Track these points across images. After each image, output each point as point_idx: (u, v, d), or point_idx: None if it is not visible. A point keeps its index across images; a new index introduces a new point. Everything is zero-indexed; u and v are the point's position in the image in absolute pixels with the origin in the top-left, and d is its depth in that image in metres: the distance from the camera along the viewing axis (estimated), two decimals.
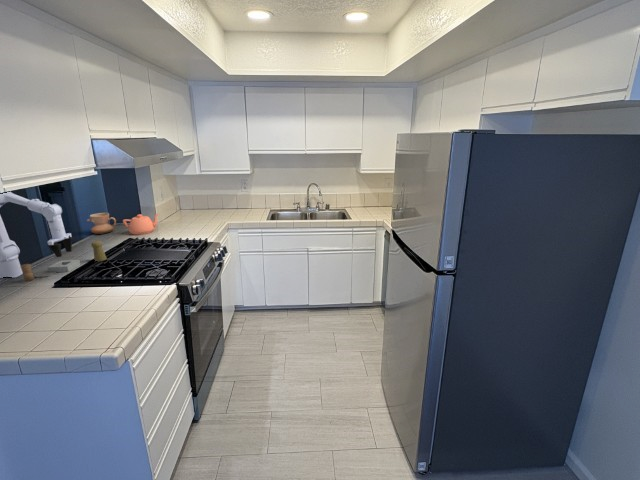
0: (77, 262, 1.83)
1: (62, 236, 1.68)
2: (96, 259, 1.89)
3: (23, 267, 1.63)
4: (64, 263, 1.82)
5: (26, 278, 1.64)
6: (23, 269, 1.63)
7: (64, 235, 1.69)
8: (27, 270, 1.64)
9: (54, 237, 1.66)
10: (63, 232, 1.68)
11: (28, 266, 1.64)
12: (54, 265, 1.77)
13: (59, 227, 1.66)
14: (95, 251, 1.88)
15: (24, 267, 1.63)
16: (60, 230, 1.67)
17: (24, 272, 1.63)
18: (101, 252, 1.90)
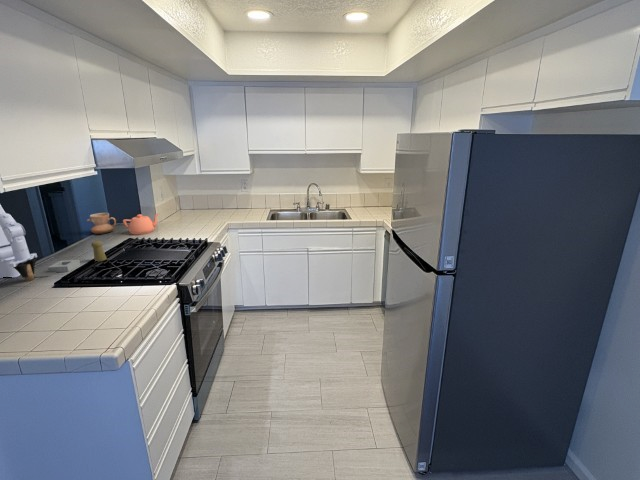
0: (77, 262, 1.83)
1: (25, 257, 1.62)
2: (96, 259, 1.89)
3: None
4: (64, 263, 1.82)
5: (26, 278, 1.64)
6: None
7: (28, 256, 1.63)
8: (27, 270, 1.64)
9: (17, 259, 1.60)
10: (27, 253, 1.62)
11: (28, 266, 1.64)
12: (54, 265, 1.77)
13: (18, 249, 1.59)
14: (95, 251, 1.88)
15: None
16: (23, 251, 1.61)
17: None
18: (101, 252, 1.90)
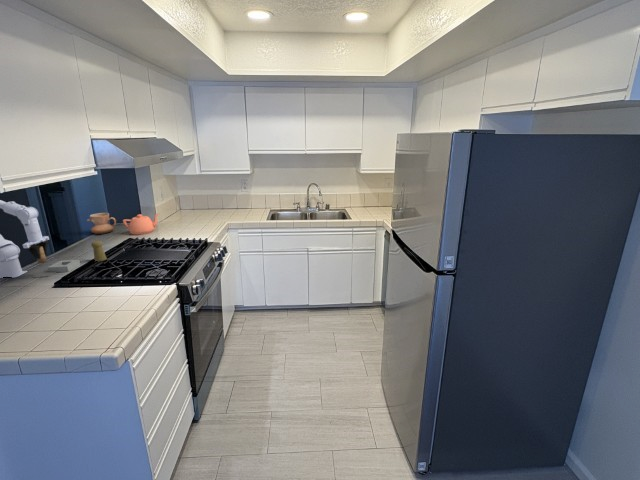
0: (77, 262, 1.83)
1: (38, 239, 1.66)
2: (96, 259, 1.89)
3: None
4: (64, 263, 1.82)
5: (39, 260, 1.69)
6: None
7: (40, 238, 1.67)
8: (40, 252, 1.69)
9: (30, 240, 1.65)
10: (40, 235, 1.67)
11: (41, 248, 1.69)
12: (54, 265, 1.77)
13: (35, 230, 1.65)
14: (95, 251, 1.88)
15: None
16: (36, 233, 1.65)
17: None
18: (101, 252, 1.90)
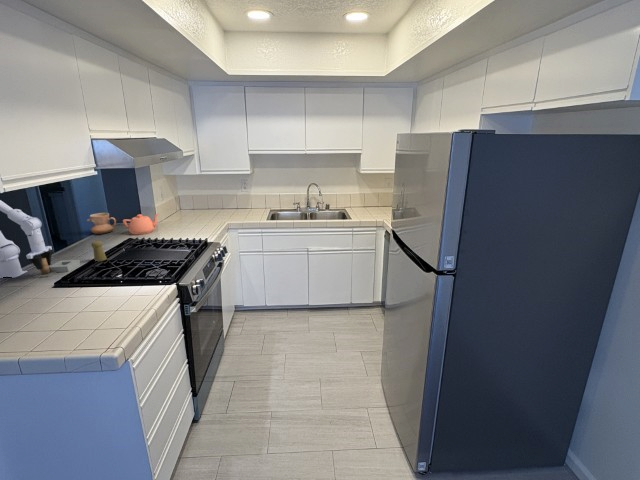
0: (77, 262, 1.83)
1: (41, 249, 1.68)
2: (96, 259, 1.89)
3: None
4: (64, 263, 1.82)
5: (43, 271, 1.71)
6: None
7: (44, 248, 1.69)
8: (44, 264, 1.71)
9: (33, 251, 1.67)
10: (43, 245, 1.69)
11: (44, 260, 1.71)
12: (54, 265, 1.77)
13: (38, 241, 1.66)
14: (95, 251, 1.88)
15: None
16: (39, 244, 1.67)
17: None
18: (101, 252, 1.90)
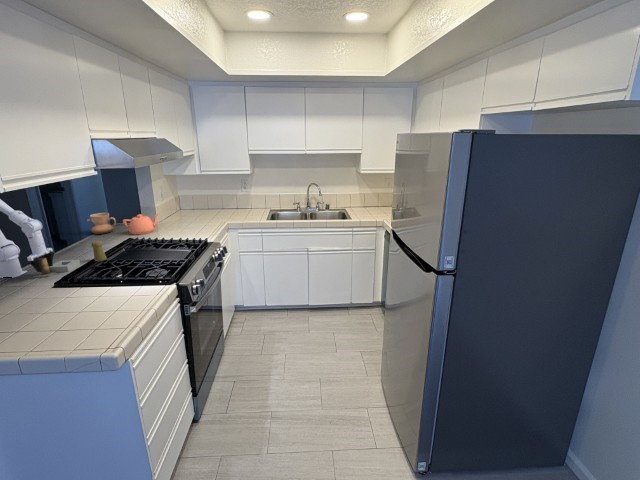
0: (77, 262, 1.83)
1: (42, 251, 1.68)
2: (96, 259, 1.89)
3: None
4: (64, 263, 1.82)
5: (43, 271, 1.71)
6: None
7: (44, 250, 1.69)
8: (44, 264, 1.71)
9: (34, 253, 1.67)
10: (44, 247, 1.69)
11: (45, 260, 1.71)
12: (54, 265, 1.77)
13: (39, 243, 1.67)
14: (95, 251, 1.88)
15: (41, 261, 1.69)
16: (40, 246, 1.67)
17: None
18: (101, 252, 1.90)
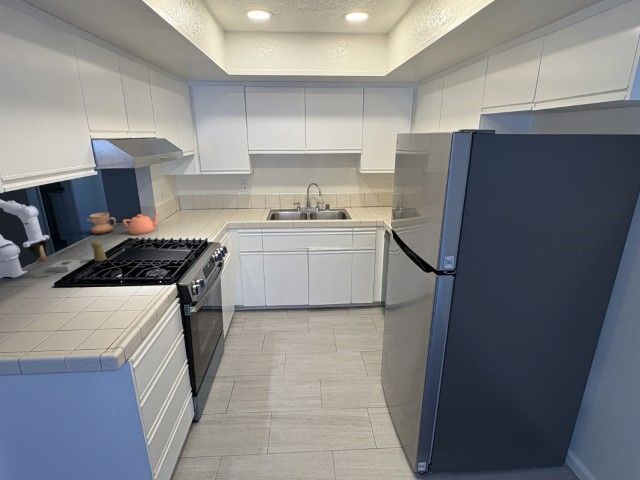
0: (77, 262, 1.83)
1: (38, 238, 1.66)
2: (96, 259, 1.89)
3: None
4: (64, 263, 1.82)
5: (39, 259, 1.69)
6: None
7: (40, 237, 1.67)
8: (40, 251, 1.69)
9: (30, 239, 1.65)
10: (40, 234, 1.67)
11: (41, 247, 1.69)
12: (54, 265, 1.77)
13: (35, 229, 1.65)
14: (95, 251, 1.88)
15: None
16: (36, 232, 1.65)
17: None
18: (101, 252, 1.90)
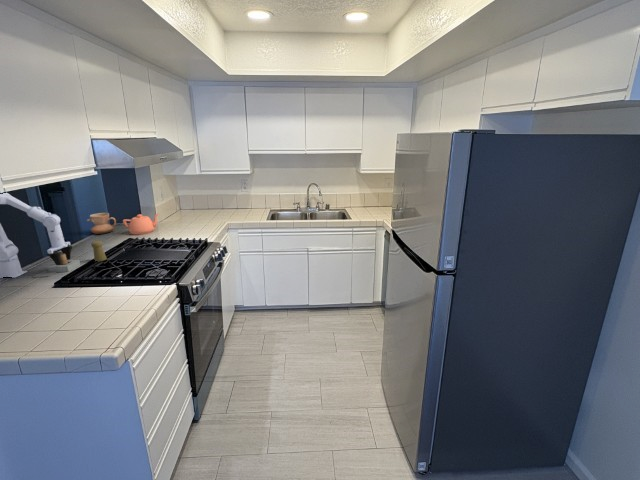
0: (77, 262, 1.83)
1: (61, 245, 1.75)
2: (96, 259, 1.89)
3: (60, 256, 1.76)
4: None
5: None
6: (60, 258, 1.77)
7: (63, 244, 1.76)
8: (63, 259, 1.78)
9: (54, 246, 1.73)
10: (63, 241, 1.76)
11: (64, 255, 1.78)
12: (54, 265, 1.77)
13: (60, 236, 1.74)
14: (95, 251, 1.88)
15: (61, 256, 1.77)
16: (59, 239, 1.74)
17: None
18: (101, 252, 1.90)
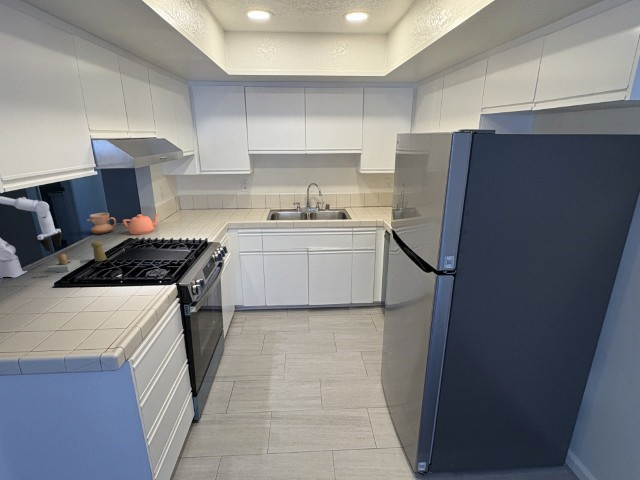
0: (77, 262, 1.83)
1: (51, 231, 1.77)
2: (96, 259, 1.89)
3: (60, 256, 1.76)
4: None
5: None
6: (60, 258, 1.77)
7: (53, 230, 1.78)
8: (63, 259, 1.78)
9: (44, 232, 1.75)
10: (53, 227, 1.77)
11: (64, 255, 1.78)
12: (54, 265, 1.77)
13: (51, 222, 1.76)
14: (95, 251, 1.88)
15: (61, 256, 1.76)
16: (49, 226, 1.76)
17: (60, 261, 1.77)
18: (101, 252, 1.90)
